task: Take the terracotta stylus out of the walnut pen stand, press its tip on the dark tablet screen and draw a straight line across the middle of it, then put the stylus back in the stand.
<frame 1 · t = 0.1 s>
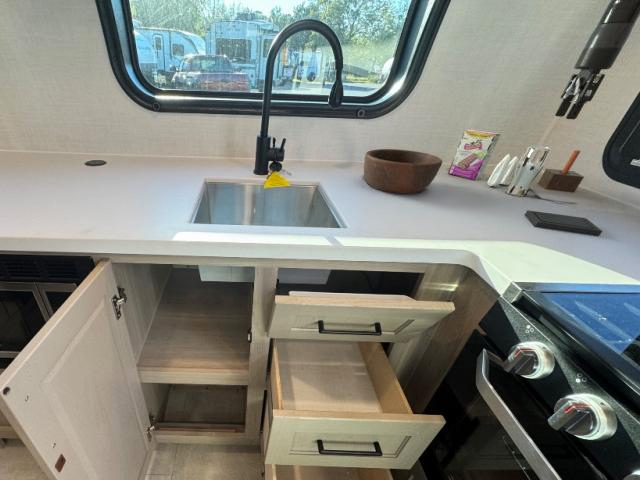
hand: (564, 117, 92), 24 cm above the worktop, tool pointing down, fingers open, 8 cm apart
shaker set: (496, 186, 119), on the worktop
stand: (552, 192, 113), on the worktop
candy bar box: (463, 177, 129), on the worktop
screen: (561, 220, 88), point 1 cm above the worktop, slide at 0.1 cm
wooden bowl: (393, 186, 116), on the worktop
stylus: (564, 172, 109), in the stand
tablet: (559, 225, 88), on the worktop
beer glass: (515, 194, 111), on the worktop
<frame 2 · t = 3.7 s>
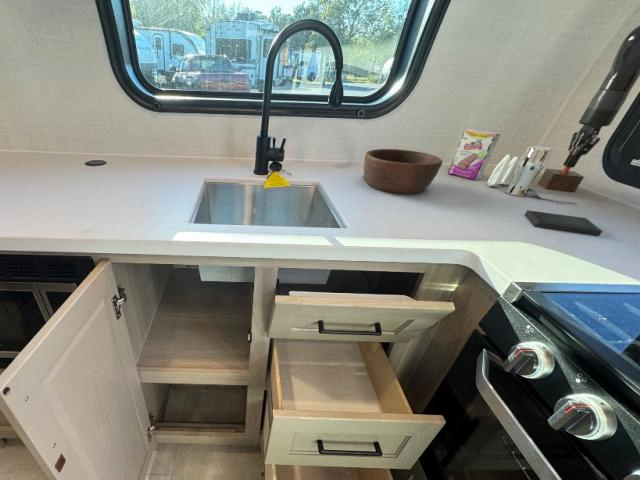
hand: (568, 166, 108), 9 cm above the worktop, tool pointing down, fingers closed on stylus
stylus: (564, 172, 109), in the stand, touching gripper
everything else where it was.
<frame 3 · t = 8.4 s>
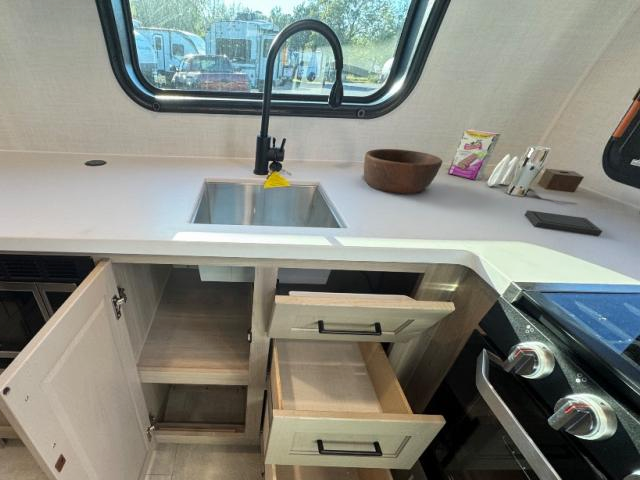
stylus: (633, 110, 80), point 27 cm above the worktop, touching gripper
everything else where it was.
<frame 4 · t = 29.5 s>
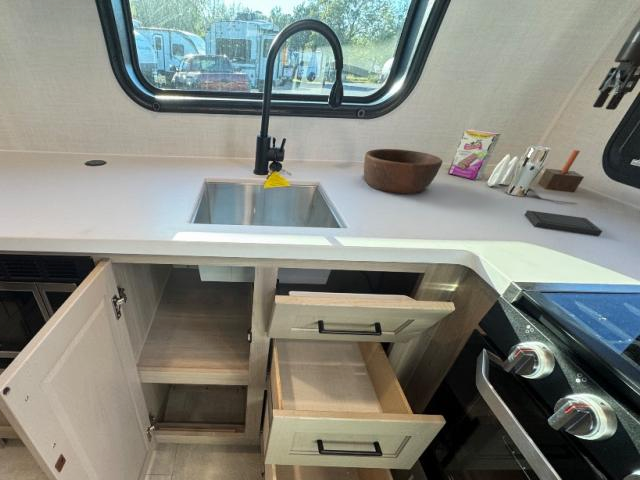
hand: (603, 108, 98), 26 cm above the worktop, tool pointing down, fingers open, 8 cm apart
stylus: (563, 172, 109), in the stand
everything else where it was.
at the end: screen pushed in 0.2 cm at the most during the clip, back to where it started at the end; stylus 0.2 cm off-centre in the stand, point 7.0 cm above the stand's base; stylus tilted 0° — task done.
